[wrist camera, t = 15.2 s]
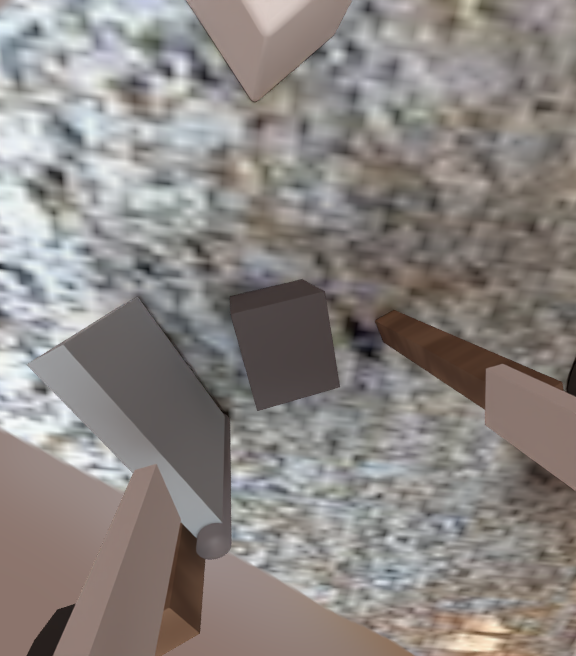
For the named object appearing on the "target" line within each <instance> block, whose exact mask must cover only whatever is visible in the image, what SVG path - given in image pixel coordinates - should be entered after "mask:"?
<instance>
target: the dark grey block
mask: <svg viewBox="0 0 576 656" xmlns="http://www.w3.org/2000/svg"><path fill="white" fill-rule="evenodd" d="M230 313H231V318H232V321H233V325H234V329H235V332H236V336H237V339H238V343H239V347H240V350H241V354H242V357H243V361H244V365H245V368H246V372H247V375H248V379H249V383H250V386H251V390H252V393H253V397H254V401H255V404H256V408H257V411H259V410H263V409H266V408H270V407H273V406H276V405H280V404H283V403H287V402H290V401H294V400H297V399H301V398H304V397H307V396H311V395H314V394H318V393H321V392H325V391H328V390H331V389H335V388H338V387H340V384H339V378H338V372H337V365H336V359H335V353H334V347H333V340H332V334H331V328H330V322H329V315H328V309H327V303H326V297H325V291H323V290H321V289H319V288H317V287H315V286H314V285H312V284H310V283H308V282H306V281H304V280H302V279H301V280H297V281H293V282H289V283H284V284H280V285H276V286H272V287H268V288H263V289H259V290H255V291H251V292H246V293H242V294H238V295H234V296H230Z"/></svg>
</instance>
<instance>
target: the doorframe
mask: <svg viewBox="0 0 576 656" xmlns="http://www.w3.org/2000/svg"><path fill="white" fill-rule="evenodd" d="M375 322H376V325H377V327H378V330H379V332H380V335H381V337H382V340H383V342H384V343H386V344H387V345H389V346H390V347H392V348H393V349H395V350H396V351H398V352H399V353H401V354H402V355H404V356H405V357H407V358H408V359H410V360H411V361H413V362H414V363H416V364H417V365H419V366H420V367H422V368H423V369H425V370H426V371H428V372H429V373H431V374H432V375H434V376H435V377H437V378H438V379H440V380H441V381H443V382H444V383H446V384H447V385H449V386H450V387H452V388H453V389H455V390H456V391H458V392H459V393H461V394H462V395H464V396H465V397H467V398H468V399H470V400H471V401H473V402H474V403H476V404H477V405H479V406H480V407H482V408H483V409H485V393H486V368H490V367H493V366H497V365H500V364H504V365H507V366H509V367H511V368H513V369H515V370H518V371H520V372H522V373H524V374H526V375H529V376H531V377H533V378H535V379H537V380H540V381H542V382H544V383H546V384H549V385H551V386H553V387H555V388H557V389H560V390H562V391H563V384H562V382H561V381H558V380H556V379H554V378H551V377H549V376H547V375H544V374H542V373H540V372H537V371H535V370H533V369H530V368H528V367H526V366H523V365H521V364H519V363H516V362H514V361H512V360H509V359H507V358H505V357H502V356H500V355H498V354H495V353H493V352H491V351H488V350H486V349H484V348H481V347H479V346H477V345H474V344H472V343H470V342H467V341H465V340H463V339H460V338H458V337H456V336H453V335H451V334H449V333H446V332H444V331H442V330H439V329H437V328H435V327H432V326H430V325H428V324H425V323H423V322H421V321H418V320H416V319H414V318H411V317H409V316H407V315H405V314H402V313H400V312H398V311H395V310H393V311H391V312H389V313H388V314H386V315H384V316H382V317H380V318H378V319H377V320H375ZM196 545H197V538H196V537H195V536H194V535H193V534H192V533H191V532H190V531H189V530H188V529H187V528H186V527H185V526H184V525H183V524H182V523H180V528H179V533H178V538H177V543H176V548H175V554H174V559H173V564H172V569H171V574H170V579H169V585H168V590H167V595H166V600H165V605H164V610H163V616H162V621H161V626H160V631H159V636H158V641H157V647H156V652H155V656H162V655H163V654H165V653H167V652H169V651H170V650H172V649H174V648H176V647H177V646H179V645H181V644H182V643H184V642H186V641H188V640H189V639H191V638H193V637H195V636H196V635H198V634H200V625H201V610H202V597H203V583H204V569H205V559H204V558H202V557H200V556H199V555H198V554H197V552H196Z"/></svg>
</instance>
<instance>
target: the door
mask: <svg viewBox="0 0 576 656" xmlns="http://www.w3.org/2000/svg"><path fill="white" fill-rule="evenodd" d="M26 365H27V366H28V367H29V368H30V369H31V370H32V371H33V372H34V373H35V374H36V375H37V376H38V377H39V378H40V379H41V380H42V381H43V382H44V383H45V384H46V385H47V386H48V387H49V388H50V389H51V390H52V391H53V392H54V393H55V394H56V395H57V396H58V397H59V398H60V399H61V400H62V401H63V402H64V403H65V404H66V405H67V406H68V407H69V408H70V409H71V410H72V411H73V413H74V414H75V415H76V416H77V417H78V418H79V419H80V420H81V421H82V422H83V423H84V424H85V425H86V426H87V427H88V428H89V429H90V430H91V431H92V432H93V433H94V434H95V435H96V436H97V437H98V438H99V439H100V440H101V441H102V442H103V443H104V444H105V445H106V446H107V447H108V448H109V449H110V450H111V451H112V452H113V453H114V454H115V455H116V456H117V457H118V458H119V459H120V460H121V462H122V463H123V464H124V465H125V466H126V467H127V468H128V469H129V470H130V471H131V472H132V473H134V470H137V469H140V468H143V467H147V466H150V465H154V464H157V466H158V468H159V470H160V473H161V475H162V477H163V479H164V482H165V484H166V486H167V489H168V491H169V493H170V495H171V498H172V500H173V502H174V505H175V507H176V509H177V511H178V514H179V516H180V518H181V523H182V524H183V525H184V526H185V527H186V528H187V529H188V530H189V531H190V532H191V533H192V534H193V535H194V536H195V537H196V538H197V545H196V552H197V554H198V555H199V556H200V557H202V558H204V559H217V558H220V557H222V556H224V555H225V554H227V553H228V551H229V550H230V548H231V456H230V418H229V417H228V416H227V415H226V414H223V413H222V412H221V410H220V409H219V408H218V406H217V405H216V404H215V402H214V401H213V399H212V398H211V397H210V395H209V394H208V393H207V391H206V390H205V388H204V387H203V386H202V384H201V383H200V382H199V380H198V379H197V378H196V376H195V375H194V373H193V372H192V371H191V369H190V368H189V367H188V365H187V364H186V362H185V361H184V360H183V358H182V357H181V356H180V354H179V353H178V351H177V350H176V349H175V347H174V346H173V345H172V343H171V342H170V341H169V339H168V338H167V336H166V335H165V334H164V332H163V331H162V330H161V328H160V327H159V325H158V324H157V323H156V321H155V320H154V319H153V317H152V316H151V315H150V313H149V312H148V310H147V309H146V308H145V306H144V305H143V304H142V302H141V301H140V299H139V298H138V297H136V298H135V299H133V300H131V301H129V302H127V303H125V304H124V305H122V306H120V307H118V308H116V309H115V310H113V311H112V312H110V313H108V314H107V315H105V316H104V317H102V318H100V319H99V320H97V321H96V322H94V323H92V324H91V325H89V326H88V327H86V328H84V329H83V330H81V331H79V332H78V333H76V334H75V335H73V336H71V337H70V338H68V339H67V340H65V341H63V342H62V343H60V344H59V345H57V346H55V347H54V348H52V349H51V350H49V351H47V352H46V353H44V354H43V355H41V356H39V357H38V358H36V359H35V360H33V361H31V362H30V363H28V364H26Z"/></svg>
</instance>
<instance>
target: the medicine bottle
mask: <svg viewBox="0 0 576 656" xmlns="http://www.w3.org/2000/svg"><path fill="white" fill-rule="evenodd" d="M187 2H188V3H189V5H190V6H191V8H192V10H193V11H194V13H195V14H196V16H197V17H198V19H199V20H200V22H201V23H202V25H203V26H204V28H205V29H206V31H207V33H208V34H209V36H210V37H211V39H212V40H213V42H214V43H215V45H216V46H217V48H218V49H219V51H220V53H221V54H222V56H223V57H224V59H225V60H226V62H227V63H228V65H229V66H230V68H231V69H232V71H233V72H234V74H235V76H236V77H237V79H238V80H239V82H240V83H241V85H242V86H243V88H244V89H245V91H246V92H247V94H248V96H249V97H250V99H251V100H252V101H258V100H259V99H260V98H261V97H263V96H264V95H265V94H266V93H267V92H268V91H269V90H271V89H272V88H273V87H274V86H275V85H276V84H278V83H279V82H280V81H281V80H282V79H283V78H285V77H286V76H287V75H288V74H289V73H290V72H292V71H293V70H294V69H295V68H296V67H297V66H299V65H300V64H301V63H302V62H303V61H304V60H306V59H307V58H308V57H309V56H310V55H311V54H313V53H314V52H315V51H316V50H317V49H318V48H320V47H321V46H322V45H323V44H324V43H325V42H327V41H328V40H329V39H330V38H331V37H332V36H333V35H334V34H335V32H336V30H337V28H338V27H339V25H340V23H341V21H342V19H343V17H344V15H345V13H346V11H347V9H348V7H349V5H350V3H351V2H352V0H187Z"/></svg>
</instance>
